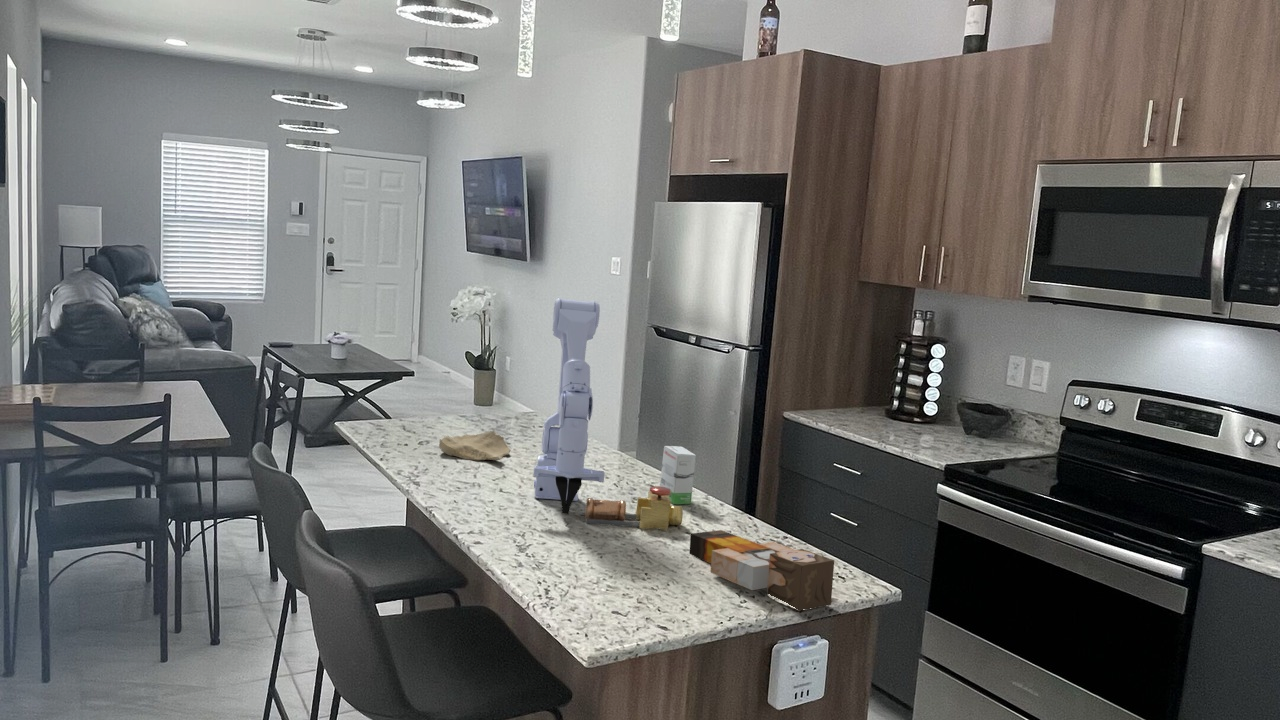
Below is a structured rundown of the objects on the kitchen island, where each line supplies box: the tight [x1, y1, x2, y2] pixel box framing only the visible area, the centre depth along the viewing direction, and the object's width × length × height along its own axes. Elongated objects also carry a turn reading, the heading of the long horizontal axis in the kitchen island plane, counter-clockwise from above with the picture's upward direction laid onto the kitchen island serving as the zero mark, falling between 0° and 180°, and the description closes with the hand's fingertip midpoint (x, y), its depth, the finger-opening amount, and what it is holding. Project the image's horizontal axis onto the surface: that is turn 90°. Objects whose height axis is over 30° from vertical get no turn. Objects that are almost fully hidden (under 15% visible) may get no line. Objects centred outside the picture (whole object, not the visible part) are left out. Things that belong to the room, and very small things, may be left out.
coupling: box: [584, 497, 627, 521], centre depth 195 cm, size 8×4×4 cm, turn 97°
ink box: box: [659, 445, 697, 505], centre depth 217 cm, size 9×5×12 cm, turn 22°
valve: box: [635, 485, 684, 530], centre depth 196 cm, size 9×8×8 cm
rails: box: [585, 512, 640, 528], centre depth 196 cm, size 11×6×1 cm, turn 97°
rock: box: [438, 430, 512, 462], centre depth 239 cm, size 18×15×4 cm
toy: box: [689, 529, 835, 611], centre depth 171 cm, size 15×8×30 cm
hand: (565, 512), depth 194 cm, fingers closed
